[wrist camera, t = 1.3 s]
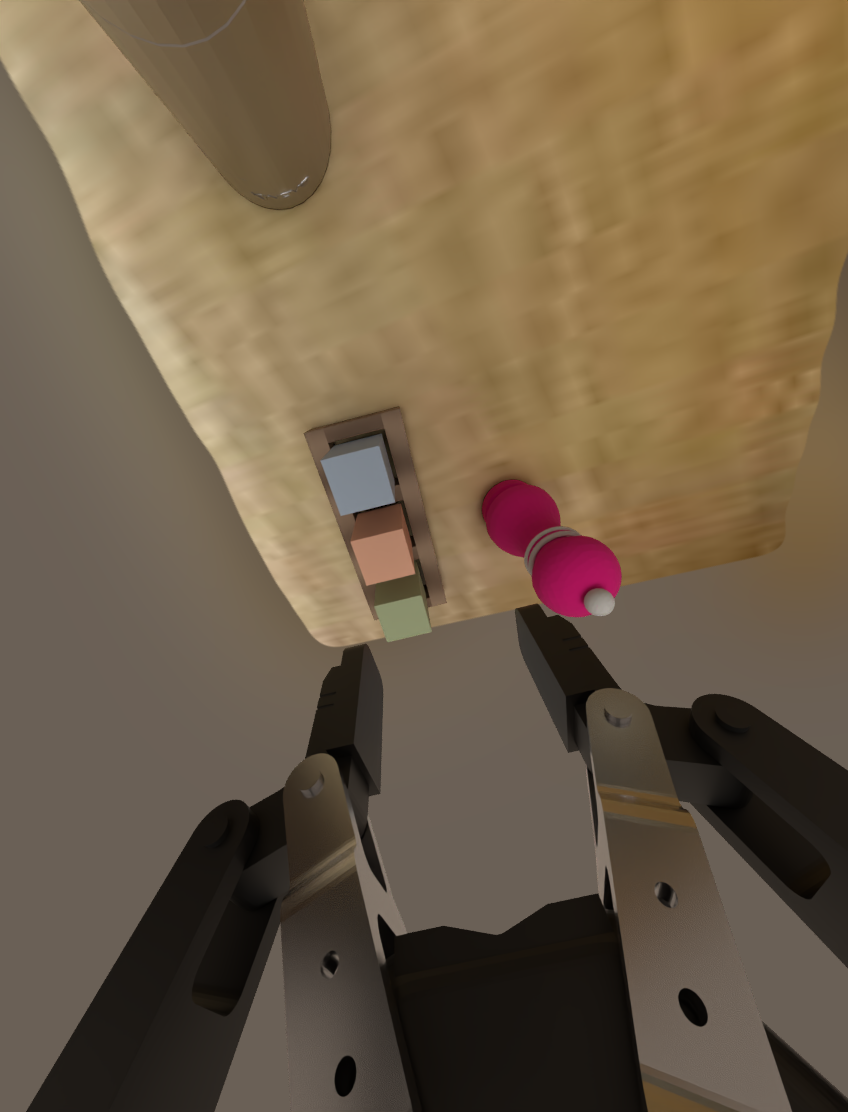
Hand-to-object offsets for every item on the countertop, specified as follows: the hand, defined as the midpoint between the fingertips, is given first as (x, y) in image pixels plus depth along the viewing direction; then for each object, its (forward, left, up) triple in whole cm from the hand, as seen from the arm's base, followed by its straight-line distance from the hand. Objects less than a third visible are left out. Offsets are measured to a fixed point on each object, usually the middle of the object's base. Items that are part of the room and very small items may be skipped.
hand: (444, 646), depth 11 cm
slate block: (-2, -4, -25) cm, 25 cm away
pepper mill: (+7, +10, -28) cm, 30 cm away
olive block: (+12, -4, -25) cm, 28 cm away
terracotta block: (+5, -4, -25) cm, 26 cm away
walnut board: (+5, -4, -27) cm, 28 cm away
